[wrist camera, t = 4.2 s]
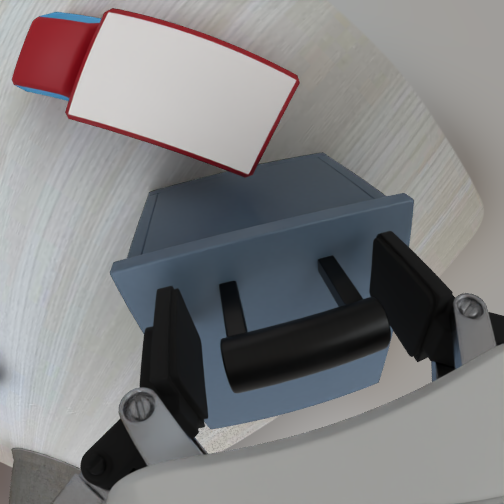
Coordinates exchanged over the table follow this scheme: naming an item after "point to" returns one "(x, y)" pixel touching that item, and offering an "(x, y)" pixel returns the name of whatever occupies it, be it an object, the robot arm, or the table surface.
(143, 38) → the toy truck
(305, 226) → the lid
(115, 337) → the table surface
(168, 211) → the blue open box
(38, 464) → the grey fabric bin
